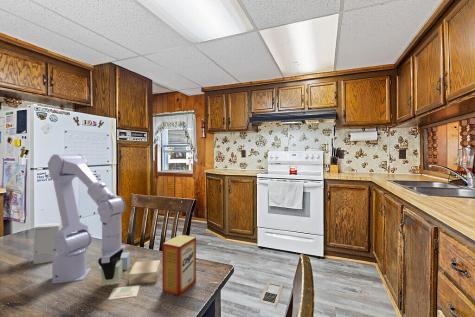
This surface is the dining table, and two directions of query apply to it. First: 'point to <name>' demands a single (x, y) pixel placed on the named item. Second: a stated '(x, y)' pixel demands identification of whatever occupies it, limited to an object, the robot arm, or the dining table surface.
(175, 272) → the baking soda box
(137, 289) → the card
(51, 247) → the skincare box
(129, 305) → the dining table surface
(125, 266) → the dusty blue block
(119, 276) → the sage green block
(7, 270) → the dining table surface
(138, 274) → the birch base block
